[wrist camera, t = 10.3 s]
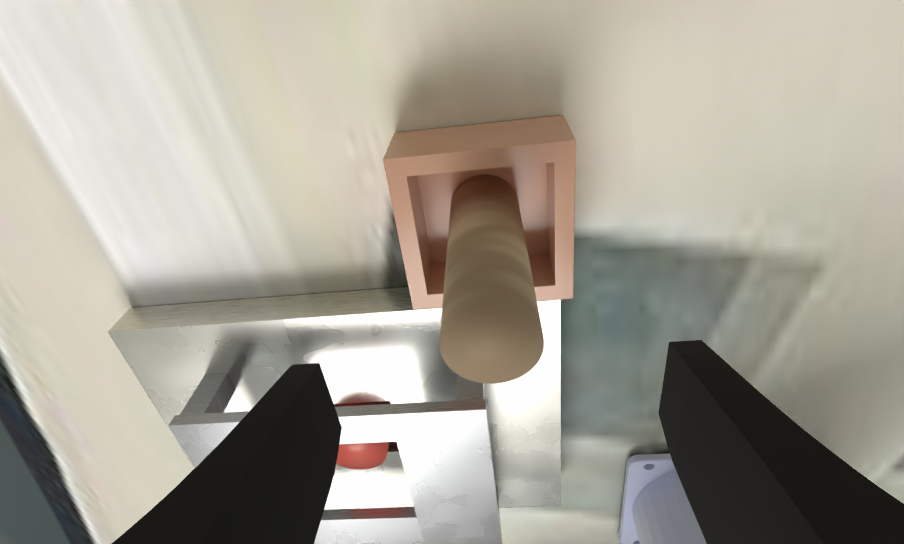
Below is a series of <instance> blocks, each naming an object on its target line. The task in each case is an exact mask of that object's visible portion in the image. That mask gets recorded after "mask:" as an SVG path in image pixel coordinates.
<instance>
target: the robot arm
mask: <svg viewBox="0 0 904 544" xmlns="http://www.w3.org/2000/svg"><path fill="white" fill-rule="evenodd" d="M659 416H660V420H661V424H662V427H663V431H664V435H665V438H666V442H667V445H668V448H669V452H670V453H668V454H643V455H634V456H631V457H630V458H629V459H628V460H627V466H626V475H625V484H624V493H623V502H622V511H621V520H620V529H619V541H620V544H904V504H903V503H901V502H900V501H898V500H897V499H896V498H894V497H893V496H891V495H890V494H888V493H887V492H885V491H884V490H882V489H881V488H880V487H878V486H877V485H875V484H874V483H873V482H871V481H870V480H868V479H867V478H866V477H864V476H863V475H862V474H860V473H859V472H857V471H856V470H855V469H853V468H852V467H851V466H849V465H848V464H847V463H846V462H844V461H843V460H842V459H840V458H839V457H838V456H836V455H835V454H834V453H833V452H831V451H830V450H829V449H827V448H826V447H825V446H823V445H822V444H821V443H820V442H818V441H817V440H816V439H814V438H813V437H812V436H811V435H810V434H808V433H807V432H806V431H805V430H803V429H802V428H801V427H800V426H799V425H797V424H796V423H795V422H794V421H793V420H791V419H790V418H789V417H788V416H787V415H785V414H784V413H783V412H782V411H781V410H780V409H778V408H777V407H776V406H775V405H774V404H772V403H771V402H770V401H769V400H768V399H767V398H765V397H764V396H763V395H762V394H761V393H760V392H759V391H757V390H756V389H755V388H754V387H753V386H752V385H751V384H750V383H749V382H747V381H746V380H745V379H744V378H743V377H742V376H741V375H740V374H738V373H737V372H736V371H735V370H734V369H733V368H732V367H731V366H730V365H728V364H727V363H726V362H725V361H724V360H723V359H722V358H721V357H720V356H718V355H717V354H716V353H715V352H714V351H713V350H712V349H711V348H710V347H708V346H707V345H706V344H705V343H704V342H703V341H702V340H696V341H679V342H669V347H668V354H667V361H666V367H665V374H664V381H663V387H662V394H661V401H660V407H659ZM341 431H342V426H341V424H340V421H339V418H338V415H337V412H336V409H335V406H334V403H333V401H332V398H331V395H330V392H329V389H328V386H327V383H326V381H325V378H324V375H323V372H322V369H321V366H320V363H310V364H293V365H291V366H290V367H289V368H288V369H287V370H286V371H285V373H284V374H283V375H282V376H281V377H280V378H279V379H278V380H277V381H276V382H275V384H274V385H273V386H272V387H271V388H270V389H269V390H268V391H267V392H266V394H265V395H264V396H263V397H262V398H261V399H260V400H259V401H258V402H257V404H256V405H255V406H254V407H253V408H252V409H251V410H250V411H249V412H248V414H247V415H246V416H245V417H244V418H243V419H242V420H241V421H240V422H239V423H238V424H237V425H236V426H235V428H234V429H233V430H232V431H231V432H230V433H229V434H228V435H227V436H226V437H225V438H224V439H223V440H222V442H221V443H220V444H219V445H218V446H217V447H216V448H215V449H214V450H213V451H212V452H211V453H210V454H209V455H208V456H207V457H206V458H205V459H204V460H203V461H202V462H201V463H200V464H199V465H198V466H197V467H196V468H195V469H194V470H193V471H192V472H191V473H190V474H189V475H188V476H187V477H186V478H185V479H184V480H183V481H182V482H181V483H180V484H179V485H178V486H177V487H176V488H174V489H173V490H172V491H171V492H170V493H169V494H168V495H167V496H166V497H165V498H164V499H163V500H162V501H160V502H159V503H158V504H157V505H156V506H155V507H154V508H153V509H152V510H151V511H149V512H148V513H147V514H146V515H145V516H144V517H142V518H141V519H140V520H139V521H138V522H137V523H136V524H134V525H133V526H132V527H131V528H130V529H129V530H127V531H126V532H125V533H124V534H123V535H122V536H120V537H119V538H118V539H117V540H116V541H114V542H113V543H112V544H314V542H315V538H316V535H317V532H318V528H319V525H320V522H321V518H322V515H323V512H324V508H325V505H326V501H327V498H328V494H329V491H330V488H331V484H332V480H333V477H334V473H335V467H336V462H337V456H338V450H339V444H340V437H341Z"/></svg>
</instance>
